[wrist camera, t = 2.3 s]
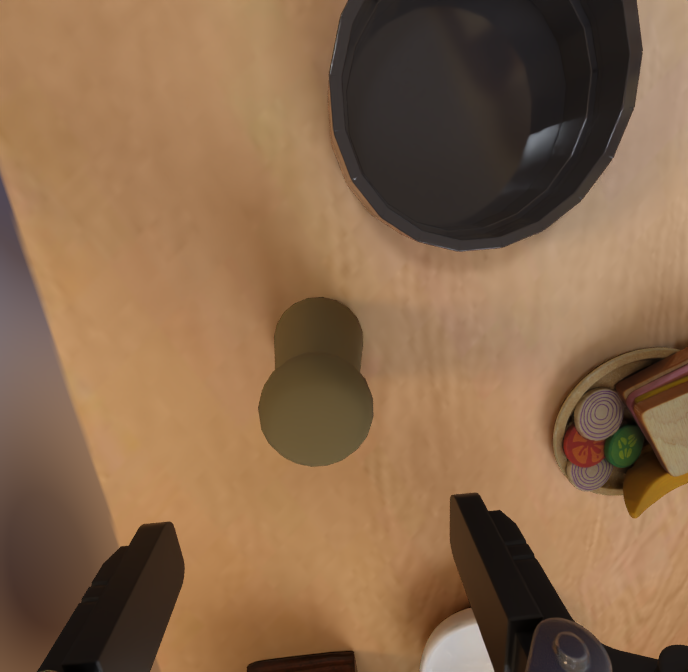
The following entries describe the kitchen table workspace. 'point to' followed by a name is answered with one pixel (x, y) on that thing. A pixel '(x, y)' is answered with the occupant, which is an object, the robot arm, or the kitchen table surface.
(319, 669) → the dark brown coffee grinder
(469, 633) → the spoon rest
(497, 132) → the dark grey bowl
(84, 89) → the kitchen table surface
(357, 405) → the cork
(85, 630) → the robot arm
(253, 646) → the kitchen table surface
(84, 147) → the kitchen table surface
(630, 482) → the toy sandwich meal
